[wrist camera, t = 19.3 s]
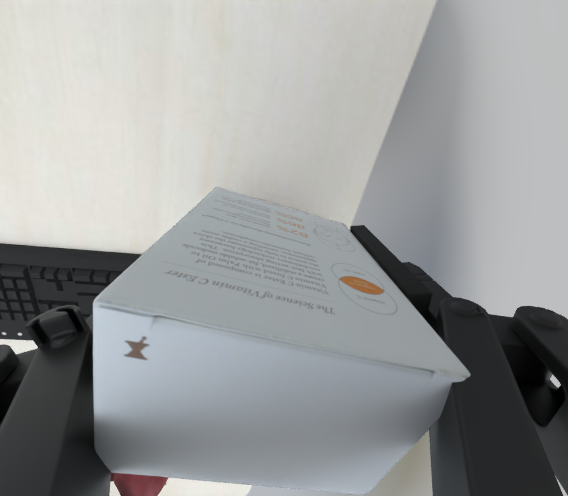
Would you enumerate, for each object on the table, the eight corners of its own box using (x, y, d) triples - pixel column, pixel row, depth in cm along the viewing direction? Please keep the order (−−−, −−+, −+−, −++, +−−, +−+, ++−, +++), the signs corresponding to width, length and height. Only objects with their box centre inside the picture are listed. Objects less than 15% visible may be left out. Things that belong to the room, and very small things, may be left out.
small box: (199, 267, 16) (81, 476, 6) (216, 182, 13) (71, 300, 4) (315, 295, 17) (368, 504, 7) (347, 222, 15) (486, 385, 5)
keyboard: (269, 264, 26) (269, 274, 24) (262, 339, 31) (261, 352, 29) (-34, 241, 23) (-60, 249, 22) (6, 326, 28) (-12, 339, 26)
